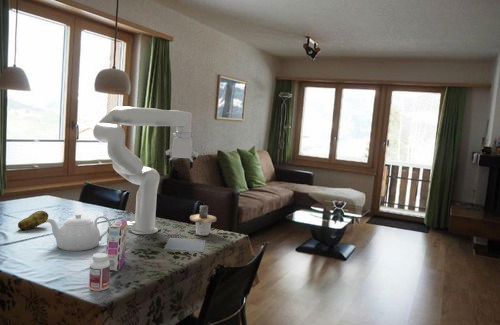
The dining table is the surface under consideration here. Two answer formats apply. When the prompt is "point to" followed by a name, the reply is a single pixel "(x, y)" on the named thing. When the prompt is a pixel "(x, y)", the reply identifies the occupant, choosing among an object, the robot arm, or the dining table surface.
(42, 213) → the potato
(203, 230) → the cup
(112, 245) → the candy bar box
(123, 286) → the dining table surface
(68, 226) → the teapot
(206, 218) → the lid
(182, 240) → the mat
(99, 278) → the pill bottle
